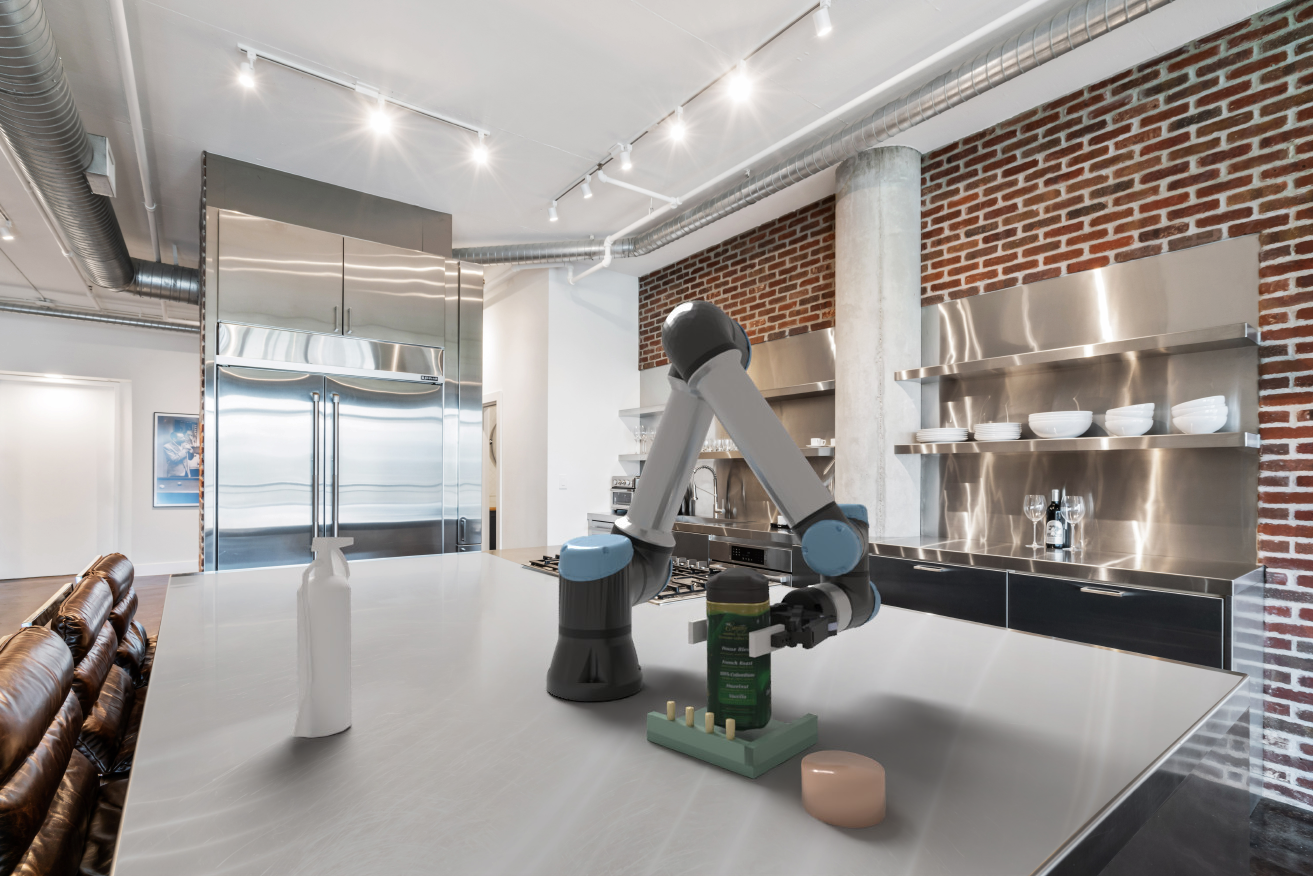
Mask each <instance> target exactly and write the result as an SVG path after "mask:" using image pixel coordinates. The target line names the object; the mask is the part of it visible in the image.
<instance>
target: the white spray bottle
mask: <svg viewBox="0 0 1313 876" xmlns="http://www.w3.org/2000/svg"><path fill="white" fill-rule="evenodd" d="M354 539H355V538H354V537H353V536H352V537H351V536H346V537H345V536H318V537H315V536H314V537H313V538H312V541H311V542H312V544H311V549H310V552H316V559H313V560H312V561H311V563H309V565H308V566H307V568H306V569H305V571H304V572H303V573H302V576H301V577H302V578H301V583H300V585H299V587H298V589H297V592H296V644H297V645H296V648H297V649H296V652H297V653H296V658H297V659H296V663H297V664H296V665H297V666H296V667H297V671H296V672H297V673H296V674H297V675H296V676H297V679H296V680H297V681H296V682H297V683H296V684H297V693H296V695H297V702H296V703H297V712H296V716H295V720H294V723H293V726H292V731H291V733H290V736H291V737H293V738H300V737H302V738H303V737H304V738H307V739H308V738H309V739H310V738H319V737H321V738H322V737H328V736H331V735H334V734H338V733H341V732H343V731H345V730H347V729H348V728H350V727H351V726H352V725H353V724H352V723H353V722H352V721H353V719H352V718H353V717H352V715H353V714H352V712H353V711H352V706H353V703H352V702H353V701H352V699H353V698H352V693H353V692H352V600H351V599H352V591H351V590H352V588H351V587H350V585H349V582H348V580H349V578H350V576H351V573H350V568H349V567H350V566H349V562H348V560H347V558H346V556H345V555H344V553H343V551H342V550H341V549H340V548H344V547H348V546H352V545H354V543H355V542H354ZM313 570H314V573H313V574H314V575H313V576H311V577H310V574H311V572H312V571H313Z"/></svg>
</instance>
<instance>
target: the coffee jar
mask: <svg viewBox="0 0 1313 876" xmlns="http://www.w3.org/2000/svg"><path fill="white" fill-rule="evenodd" d="M769 582H770V581H769V579H768V576H766V575H765V574H763V573H762V572H760V571H758V570H757V568H752V567H751V568H750V567H736V566H735V567H726V568H725V569H724V570H722V571H720V572H718V573H716V574H714V575H712V576H711V577H710V578H709V579H707V580H706V584H705V586H706V588H705V590H706V591H705V607H706V610H705V613H706V617H707V641H706V673H707V674H706V707H707V713H714V725H715V726H719V727H722V728H725V729H726V719H734V720H735V731H738V732H742V731H745V730H751V729H762V728H764V727H765V726H766V725H767V724H768V722H769V720H770V719H772V718H771V717H772V652H770V653H767V654H764V655H761V656H758V657H750V656H749V633H750V632H754V631H757V630H761V629H764V628H768V627H770V605H771V600H770V599H771V598H770V585H769V584H770V583H769Z"/></svg>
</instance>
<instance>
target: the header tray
mask: <svg viewBox="0 0 1313 876" xmlns="http://www.w3.org/2000/svg"><path fill="white" fill-rule="evenodd" d="M818 722H819V721H818V715H816V714H814V713H809V712H808V713H807V714H805V715H803V716H801V717H799V718H797V719H794V720H793V721H791V722H789V723H787V722H784V721H780V720H776V719H773V718H770V720H769V722H768V724H767V725H766V726H765V727H764V728H762V729H751V730H745V731H742V732H738V731H735V720H734V719H726V729H725V728H722V727H719V726H715V725H714V713H707V706H704V707H702V708H700V709H697V710H695V708H694V707H693V706H687V707H685V715H681V716H679V717H676V702H675V701H673V700H668V701H666V714H664V713H661V712H658V711H655V710H652V711H651V712H647V714H646V740H647V741H649V742H652V743H655V744H657V745H659V746H663V747H665V748H668V749H671V750H674V751H677V752H679V753H681V754H685V755H686V756H687V755H688V756H690V757H692V758H696V759H699V760H701V761H703V762H707V763H709V764H711V765H713V766H717V767H719V768H724V769H726V770H728V771H731V772H734V773H736V774H739V775H742V776H744V777H747V778H750V779H756V778H757V777H760V776H761V775H763V774H765V773H767V772H768V771H770V770H771V769H773V768H775V767H777V766H778V765H780V764H782V763H784V762H786V761H787V760H789V759H792V757H794V756H796V755H797V754H800V753H802V752H803V751H805V750H807V749H809V748H810V747H812V746H814V745H815V744H817V743H818V742H819V731H818V730H819V729H818V728H819V727H818Z"/></svg>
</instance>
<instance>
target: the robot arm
mask: <svg viewBox="0 0 1313 876" xmlns="http://www.w3.org/2000/svg"><path fill="white" fill-rule="evenodd" d="M661 329H662V330H661V344H662V349H663V351H664V353H665V356H666V357H667V358H668V360H669V361H670V362H671V365H670V368H669V371H668V373H667V377H666V378H667V380H668V383H669V385H670V388H671V390H670V393H669V396H668V399H667V402H666V405H665V406H664V410H663V413H662V415H661V418H660V420H659V424H658V426H657V429H656V432H655V435H654V437H653V440H652V443H651V446H650V448H649V451H648V454H647V457H646V459H645V462H644V465H643V468H642V471H641V474H640V476H639V478H638V482H637V484H636V488H635V490H634V492H633V495H632V498H631V501H630V503H629V507H628V509H627V513H626V514H625V515H624V516H622V517H619V518H617V519H616V520H614V523H613V525H612V528H611V531H610V533H603V534H591V535H587V536H586V535H583V536H578V537H575V538H571V539H568V540H567V541H565V542H564V543H563V544H562V546H561V548H560V550H559V551H560V552H559V561H558V564H557V565H558V566H557V571H558V634H557V635H558V637H557V642H556V645H555V647H554V650H553V651H554V652H553V655H552V658H551V662H550V666H549V668H548V670H547V672H546V691H547V690H548V691H547V692H548V693H549V692H550V693H551V694H550V693H549V694H550V695H552V694H553V695H552V696H554V695H555V696H554V697H556V696H558V697H557V698H559V697H561V699H563V698H564V700H568V699H569V700H570V701H578V702H604V701H611V700H612V701H613V700H617V699H622V698H628V697H630V696H632V695H634V694H636V693H639V692H640V690H642V688H643V682H644V681H643V675H644V674H643V670H642V669H643V668H642V666H641V665H640V664H639V658H638V654H637V650H636V646H635V644H634V641H633V637H632V636H633V634H632V632H633V631H632V627H633V624H632V622H633V621H632V618H633V617H632V616H633V614H632V613H633V607H636V606H638V605H642V604H644V603H647V602H650V601H652V600H654V599H655V598H656V597H658V596H659V595H660V594H661V593H662V592H663V591H664V590H665V589H666V588H667V586H668V585H669V583H670V581H671V579H672V575H673V567H674V565H673V559H672V554H673V552H674V549H675V547H676V544H677V542H676V539H675V538H674V535H673V533H672V530H673V527H674V524H675V522H676V519H677V517H678V514H679V511H680V509H681V505H682V503H683V500H684V498H685V495H686V492H687V489H688V487H689V484H690V481H691V479H692V476H693V474H694V470H695V468H696V465H697V464H698V463H697V462H698V460H699V456H700V454H701V451H702V448H703V447H704V446H703V445H704V443H705V440H706V437H707V436H708V433H709V429H710V427H711V424H712V422H713V419H714V416H715V417H716V419H717V421H719V424H720V425H721V426H722V427H723V430H725V432H726V434H727V435H728V437H729V438H730V439H731V441H732V443H733V444H734V446H735V447H736V449H737V450H738V452H739V453H740V455H741V456H742V458H743V459H744V461H745V462H746V464H747V466H748V467H749V468H750V469H751V472H752V473H753V475H755V477H756V479H757V480H758V482H759V483H760V485H761V486H762V488H763V489H764V491H765V492H766V494H767V495H768V496H769V498H770V500H771V501H772V503H773V504H774V506H775V507H776V508H777V510H778V513H780V515H781V517H782V518H783V520H784V521H785V522H786V524H787V526H788V527H789V529H790V530H791V532H792V533H793V535H794V537H795V539H796V540H797V541H798V543H799V544H800V547H801V554H802V557H803V560H804V561H805V563H806V565H807V566H808V567H809V569H811V570H812V571H814V572H815V573H817V574H819V575H820V576H819V577H820V583H815V584H813V585H808V586H805V587H801V588H796V589H793V590H790V591H789V592H787V593H786V594H785V595H784V596H783V597H782V600H781V601H780V602H776V603H773V604H770V627H768V628H764V629H761V630H757V631H754V632H750V633H749V656H750V657H758V656H761V655H764V654H767V653H770V652H771V653H772V652H775V651H779V650H781V649H784V648H785V647H788V648H792V649H793V648H796V647H798V644H799V645H801V647H802V649H805V650H811V649H813V648H815V647H816V646H817V645H820V644H821V643H822V642H824V641H825V640H827V639H828V638H831V637H835V636H838V634H839V633H841V632H844V631H847V630H848V631H849V630H851V629H857V628H861V626H863V625H865V624H867V623H869V622H871V621H872V620H873V619H874V618H876V616H877V615H878V613H879V611H880V609H881V602H882V601H881V600H882V599H881V595H880V592H879V591H878V588H877V586H876V585H875V584H874V583H873V582H872V581H871V577H870V569H869V568H870V556H869V555H870V545H869V544H870V542H869V541H870V540H869V539H870V538H869V537H870V536H869V535H870V533H869V529H870V523H869V517H868V516H869V515H868V509H867V507H866V505H864V504H860V503H838V502H836V500H835V499H834V497H833V496H832V494H831V493H830V491H829V490H828V489H827V487H826V486H825V484H824V482H823V481H822V480H821V478H820V477H819V474H817V473H816V471H815V470H814V468H813V467H812V465H811V463H810V462H809V461H808V459H807V458H806V457H805V455H804V453H803V452H802V451H801V449H800V448H799V446H798V445H797V443H796V442H795V440H794V439H793V438H792V436H791V435H790V433H789V432H788V430H787V429H786V427H785V426H784V425H783V423H782V421H781V420H780V419H779V417H778V416H777V415H776V413H775V412H774V410H773V408H772V407H771V406H770V404H769V402H768V401H767V400H766V399H765V397H764V395H763V394H762V393H761V391H760V390H759V388H758V387H757V386H756V384H755V382H754V381H753V379H752V378H751V376H750V375H749V374H748V372H747V371H748V370H749V367H750V365H751V362H752V356H753V353H752V352H753V350H752V349H753V348H752V343H751V340H750V338H749V337H748V336H749V335H748V334H747V332H746V330H745V328H744V327H743V325H741V324H740V323H739V322H738V321H736V320H735V319H734V318H732V317H731V316H730V315H728V314H727V313H726V312H725V311H724V310H723V309H722V308H720V307H719V306H718V305H716V304H715V303H712V302H710V301H707V300H690V301H686V302H684V303H681V304H679V305H677V306H676V307H675V308H673V310H672V311H671V312H669V314H668V315H667V317H666V319H665V321H664V323H663V327H662V328H661ZM687 624H688V629H687V631H688V635H687V636H688V637H687V638H688V644H690V645H695V644H699V643H703V642H707V616H706V617H702V618H698V619H694V620H690V621H689V620H688V622H687Z"/></svg>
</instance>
